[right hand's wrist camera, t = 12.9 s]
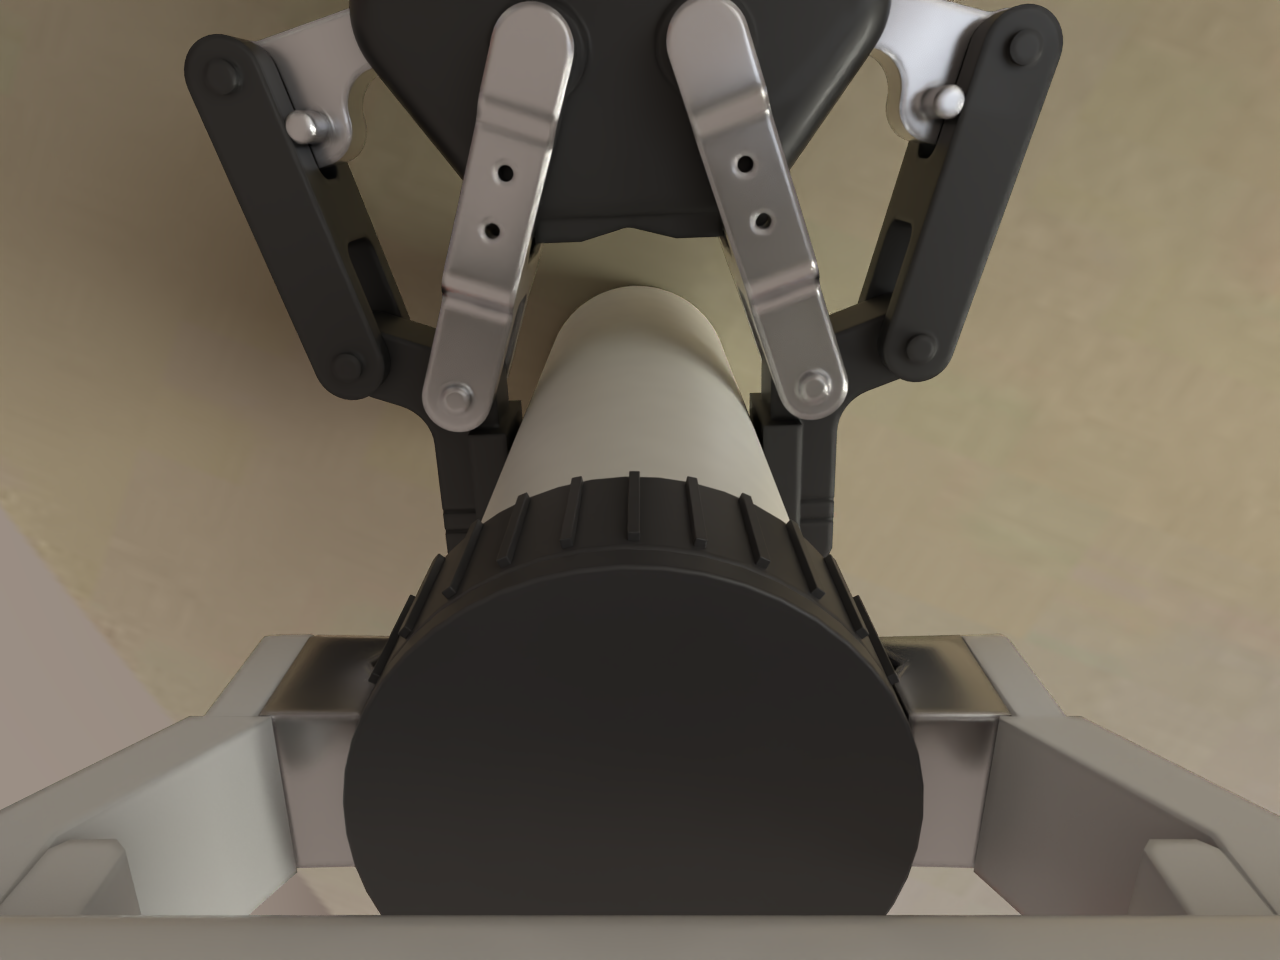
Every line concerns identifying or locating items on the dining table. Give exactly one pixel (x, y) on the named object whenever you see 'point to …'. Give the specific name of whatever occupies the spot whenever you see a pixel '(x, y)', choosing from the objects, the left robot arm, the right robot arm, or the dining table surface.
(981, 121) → the left robot arm
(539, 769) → the lid
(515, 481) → the white bottle
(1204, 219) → the dining table surface
